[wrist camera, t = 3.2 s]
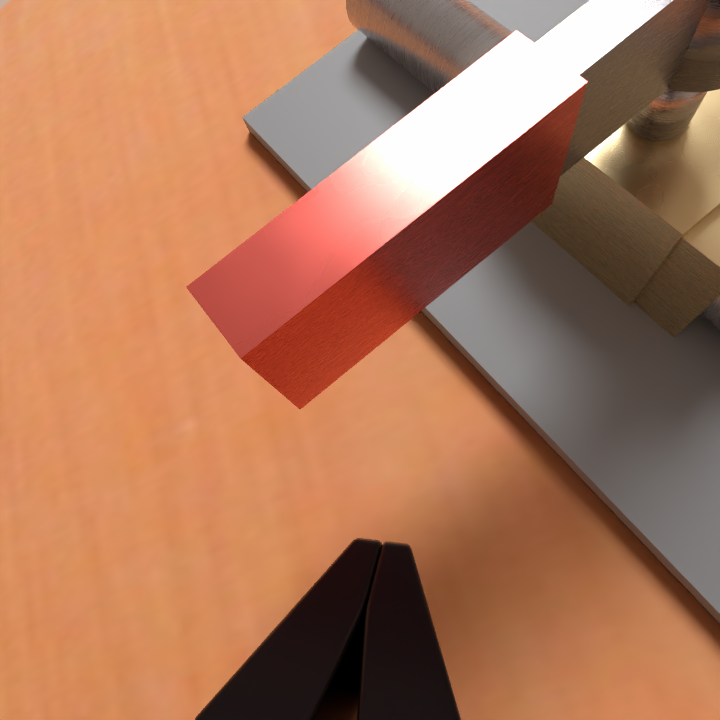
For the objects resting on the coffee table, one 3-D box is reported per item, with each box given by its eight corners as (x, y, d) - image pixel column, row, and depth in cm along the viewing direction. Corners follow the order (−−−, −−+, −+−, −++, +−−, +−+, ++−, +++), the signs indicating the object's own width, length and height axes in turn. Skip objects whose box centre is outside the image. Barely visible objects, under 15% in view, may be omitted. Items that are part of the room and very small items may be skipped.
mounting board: (1140, 360, 16) (1175, 351, 15) (787, 694, 14) (805, 702, 14) (498, -59, 24) (499, -77, 24) (249, 130, 23) (242, 117, 23)
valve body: (1035, 451, 15) (1440, 389, 9) (920, 560, 14) (1258, 574, 8) (421, -7, 23) (410, -199, 17) (340, 54, 23) (300, -120, 17)
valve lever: (683, -15, 13) (757, -193, 10) (786, 45, 12) (903, -129, 9) (242, 335, 12) (167, 262, 9) (316, 431, 11) (263, 388, 8)
